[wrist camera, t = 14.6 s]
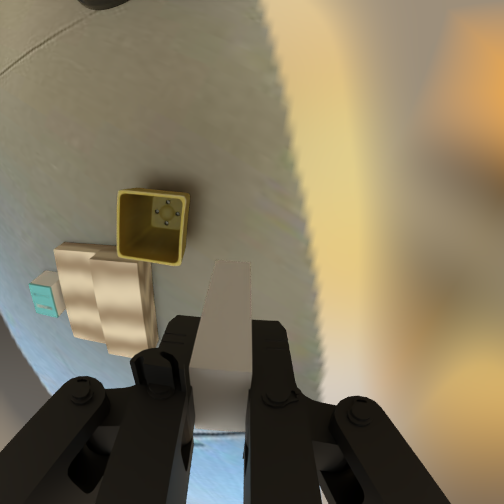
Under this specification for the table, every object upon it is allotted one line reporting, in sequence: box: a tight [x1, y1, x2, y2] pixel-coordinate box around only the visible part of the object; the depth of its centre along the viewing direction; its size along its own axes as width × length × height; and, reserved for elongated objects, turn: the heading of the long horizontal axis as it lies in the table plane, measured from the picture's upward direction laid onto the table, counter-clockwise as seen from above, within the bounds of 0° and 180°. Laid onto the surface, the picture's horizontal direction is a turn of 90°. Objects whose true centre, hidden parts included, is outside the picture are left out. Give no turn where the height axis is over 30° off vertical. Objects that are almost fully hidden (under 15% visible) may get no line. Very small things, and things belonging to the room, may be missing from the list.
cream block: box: [29, 271, 66, 318], centre depth 43 cm, size 6×6×6 cm
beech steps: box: [54, 242, 159, 358], centre depth 43 cm, size 18×17×6 cm
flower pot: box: [117, 188, 190, 266], centre depth 37 cm, size 9×9×9 cm
